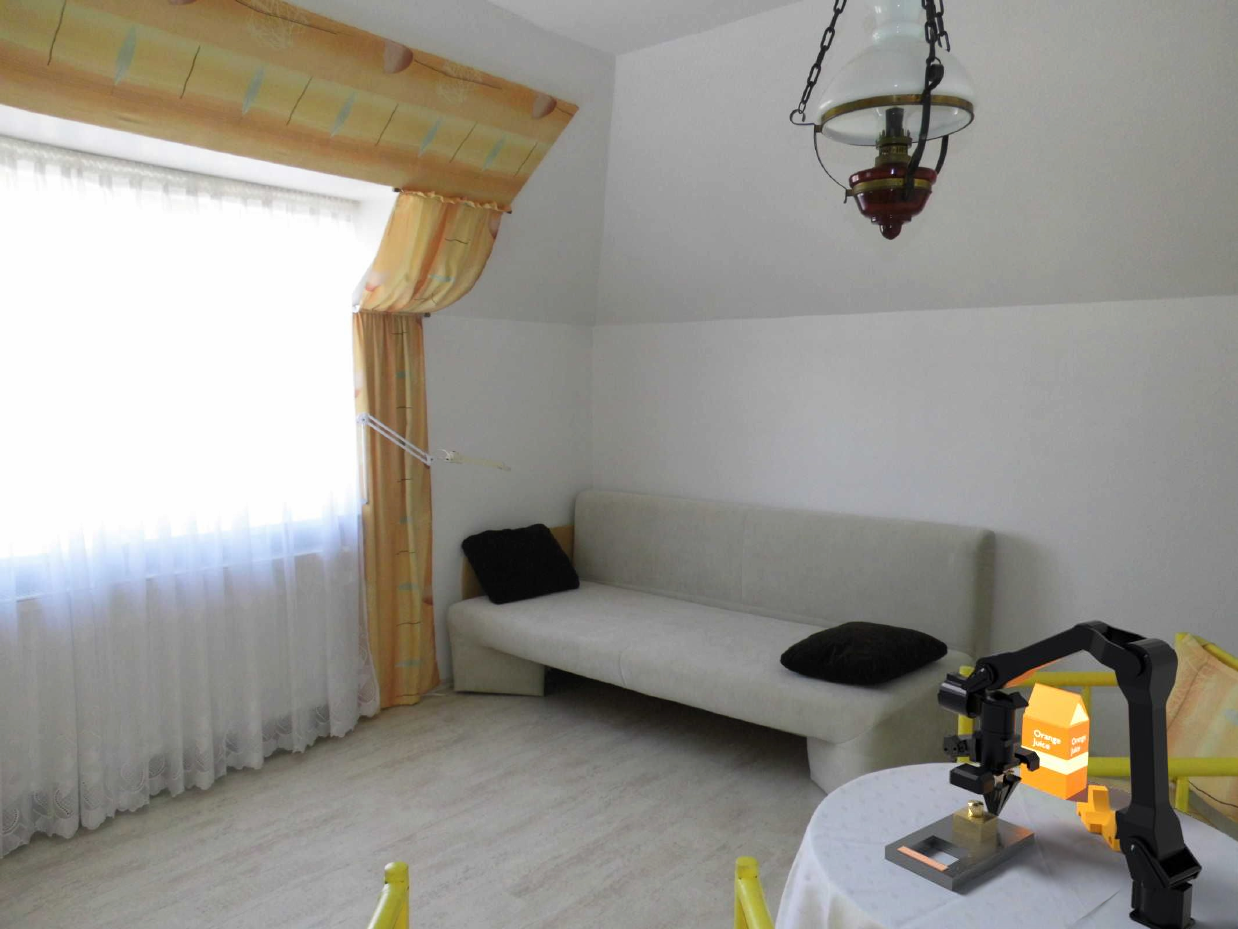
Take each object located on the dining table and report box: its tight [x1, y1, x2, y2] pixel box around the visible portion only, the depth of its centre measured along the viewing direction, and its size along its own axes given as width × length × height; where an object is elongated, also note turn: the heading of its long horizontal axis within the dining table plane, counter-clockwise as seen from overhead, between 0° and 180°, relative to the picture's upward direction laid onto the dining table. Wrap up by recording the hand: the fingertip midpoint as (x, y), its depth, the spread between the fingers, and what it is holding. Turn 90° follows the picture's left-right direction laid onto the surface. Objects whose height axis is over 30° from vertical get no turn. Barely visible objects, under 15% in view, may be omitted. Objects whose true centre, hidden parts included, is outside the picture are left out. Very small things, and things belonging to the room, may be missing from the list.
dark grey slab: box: [884, 813, 1035, 892], centre depth 148 cm, size 12×24×2 cm, turn 128°
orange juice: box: [1019, 682, 1091, 801], centre depth 169 cm, size 8×9×20 cm
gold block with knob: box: [952, 799, 999, 842], centre depth 150 cm, size 5×5×5 cm
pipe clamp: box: [1076, 784, 1121, 852], centre depth 153 cm, size 12×4×6 cm, turn 171°
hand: (993, 817), depth 153 cm, fingers closed
